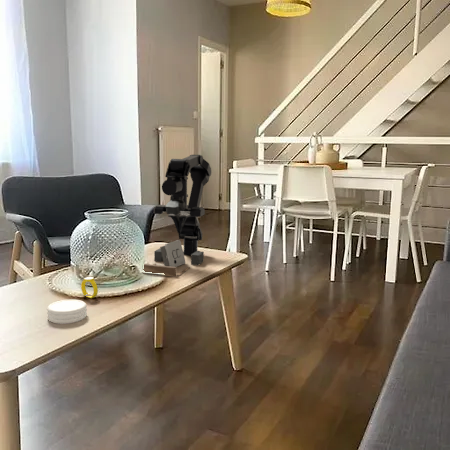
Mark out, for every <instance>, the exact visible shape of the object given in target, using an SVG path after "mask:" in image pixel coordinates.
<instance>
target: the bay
mask: <svg viewBox="0 0 450 450" xmlns="http://www.w3.org/2000/svg"><path fill="white" fill-rule="evenodd" d="M143 264H144V269H143V268H142V270H144V271H145V272H152V273H164V274H165V275H166V277H167V276H168V277H177V276H179V277H180V276H182V275H183V274H184V273H185V272H186V271H188V270H190V268H191V267H190V266H187V267H185V268H184V269H182V270H181V271H180V272H179V273H178V274H177V267H171V266H165V265H161V264H159V265H158V264H157V263H152V264H148V263H143ZM165 275H164V276H165Z"/></svg>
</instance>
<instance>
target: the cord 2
mask: <svg viewBox="0 0 450 450" xmlns="http://www.w3.org/2000/svg"><path fill="white" fill-rule="evenodd" d="M204 257H205V256H204V251H201V250H197V251H196V252H194V253H193V254H191V255H190V265H191V266H200V265H201V264H202V263H204V262H205V260H204ZM203 261H204V262H203ZM199 264H200V265H199Z"/></svg>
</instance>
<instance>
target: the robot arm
mask: <svg viewBox="0 0 450 450" xmlns="http://www.w3.org/2000/svg"><path fill="white" fill-rule="evenodd" d="M189 175H190V176H189ZM211 175H212V167H211V164H210V163H209V162H208V161H207V160H205V159H204V157H203V155H201V154H190V155H189V156H187V157H184V158H171V160H170V161H169V162H168V165H167V168H166V173H165V175H164V176H165V178H166V179H165V180H164V181H163V182H162V184H161V190H162V192H163V193H164V195H166V196H170V198H169V201H168V202H167V203H166V204H158V205H156V206H154V208H153V214H155V215H162V214H163V213H166V214H167V217H169V218H171V219H172V221H173V223H174V225H175V228H176V231H177V234H178V240H183V253H184V256H185V255H186V256H191V254H193V253H194V252H196V251H198V243H199V241H203V231H202V228H201V226H200V225H201V224H200V222H199V219H198V217H199V218H200V217H203V216H204V215H205V214H206V210H205V208H204V207H200V205H201V203H202V202H201V200H202V196H203V192H204V187H205V186H206V184H207V183H208V182H209V180H210V177H211ZM189 177H190V178H191V181H192V185H191V191H190V194H188V179H189ZM189 195H190V196H189ZM188 198H189V199H188Z"/></svg>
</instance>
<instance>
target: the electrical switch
mask: <svg viewBox="0 0 450 450" xmlns="http://www.w3.org/2000/svg"><path fill="white" fill-rule="evenodd" d="M160 249H161V253H162V257H163V261H162V262H163V264H164V265H163V266H171V267H176V268H177V267H179V266H182V265H185V264H186V258H185V255H184V253H183V251H184V248H183V245H182V241H181V239H177V240H174V241H170V242H167V243H165V244H164V245H162V246H160ZM165 256H166V257H165Z"/></svg>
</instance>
